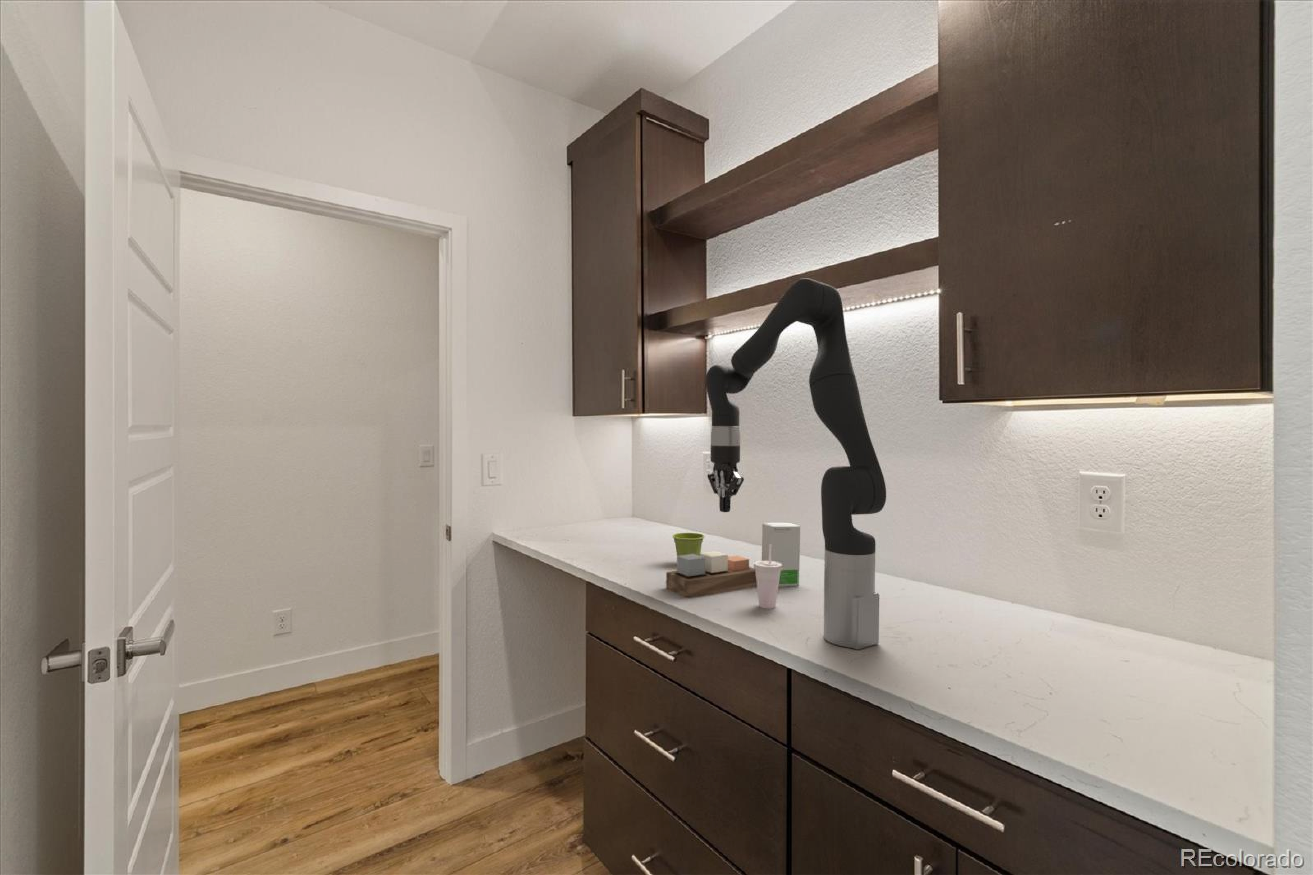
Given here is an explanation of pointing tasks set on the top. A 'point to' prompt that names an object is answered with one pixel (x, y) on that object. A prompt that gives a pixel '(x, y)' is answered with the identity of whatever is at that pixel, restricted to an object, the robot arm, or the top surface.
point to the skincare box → (783, 550)
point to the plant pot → (688, 543)
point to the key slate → (691, 565)
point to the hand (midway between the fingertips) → (724, 511)
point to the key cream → (715, 561)
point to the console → (710, 582)
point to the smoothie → (767, 581)
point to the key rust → (737, 563)
